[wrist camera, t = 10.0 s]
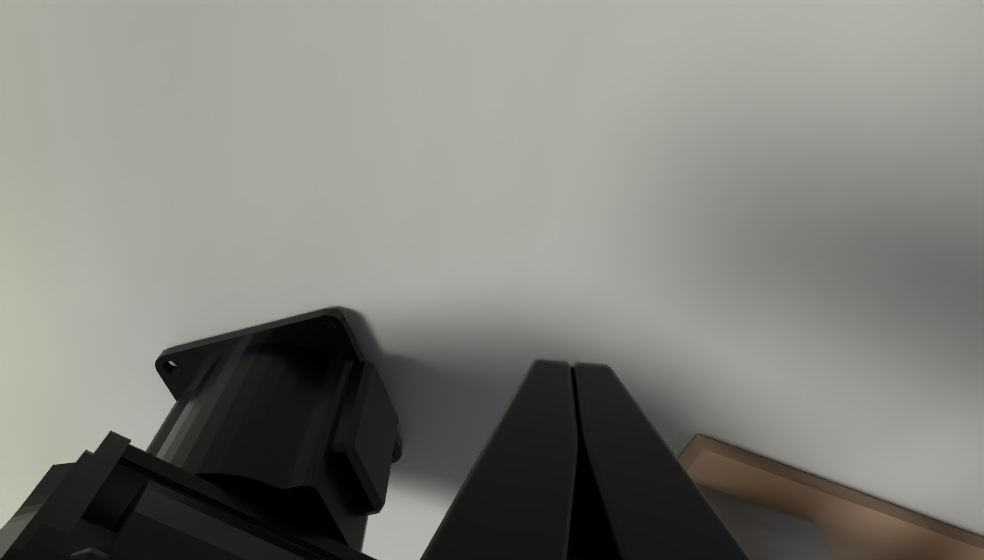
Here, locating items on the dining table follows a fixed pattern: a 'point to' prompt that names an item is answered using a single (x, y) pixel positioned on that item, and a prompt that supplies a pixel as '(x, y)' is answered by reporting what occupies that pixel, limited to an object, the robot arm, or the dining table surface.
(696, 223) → the dining table surface
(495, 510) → the robot arm
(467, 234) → the dining table surface
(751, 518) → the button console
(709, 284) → the dining table surface
